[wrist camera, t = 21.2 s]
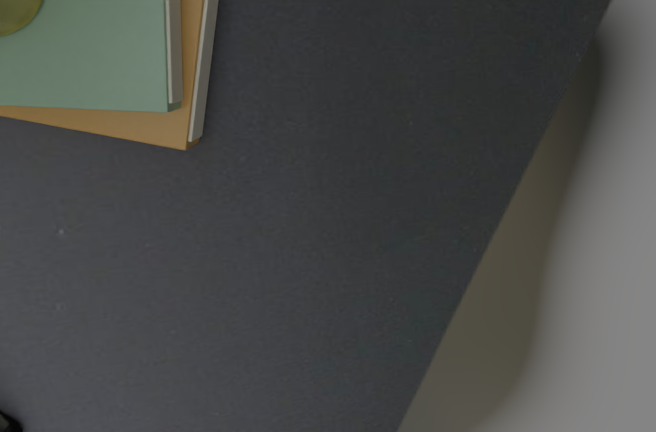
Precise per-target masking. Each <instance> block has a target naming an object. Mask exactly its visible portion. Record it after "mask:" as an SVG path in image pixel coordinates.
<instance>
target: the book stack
mask: <svg viewBox="0 0 656 432" xmlns="http://www.w3.org/2000/svg"><path fill="white" fill-rule="evenodd" d="M218 1H219V0H43V1H42V4H41V6H40V8H39V10H38V12H37V13H36V15H35V16H34V18H33V19H32V20H31V21H30V22H29V23H28V24H27V25H25V26H24V27H22V28H21V29H19V30H17V31H15V32H14V33H11V34H9V35H5V36H1V37H0V116H4V117H9V118H15V119H20V120H25V121H31V122H36V123H41V124H47V125H52V126H57V127H62V128H68V129H73V130H78V131H84V132H89V133H94V134H100V135H105V136H110V137H116V138H121V139H126V140H132V141H137V142H142V143H148V144H153V145H158V146H164V147H169V148H174V149H180V150H187V149H189V148H190V147H192V146H194V145H195V144H197V143H199V139H200V137H201V136H202V133H203V125H204V116H205V108H206V100H207V92H208V84H209V75H210V67H211V59H212V51H213V42H214V34H215V26H216V18H217V10H218Z"/></svg>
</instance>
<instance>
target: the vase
mask: <svg viewBox="0 0 656 432" xmlns="http://www.w3.org/2000/svg"><path fill="white" fill-rule="evenodd" d="M42 1H43V0H0V37H1V36H5V35H9V34H11V33H14V32H15V31H17V30H19V29H21V28H22V27H24V26H25V25H27V24H28V23H29V22H30V21H31V20H32V19H33V18H34V16H35V15H36V13H37V12H38V10H39V8H40V6H41V4H42Z"/></svg>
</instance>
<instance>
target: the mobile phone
mask: <svg viewBox="0 0 656 432" xmlns="http://www.w3.org/2000/svg"><path fill="white" fill-rule="evenodd" d="M22 431H23V429H22V428H21V427H20V426H19V425H18V424H17V423H16V422H14V421H12V420H11V419H9V418H7V417H5V416H4V415H2V414H0V432H22Z"/></svg>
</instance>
